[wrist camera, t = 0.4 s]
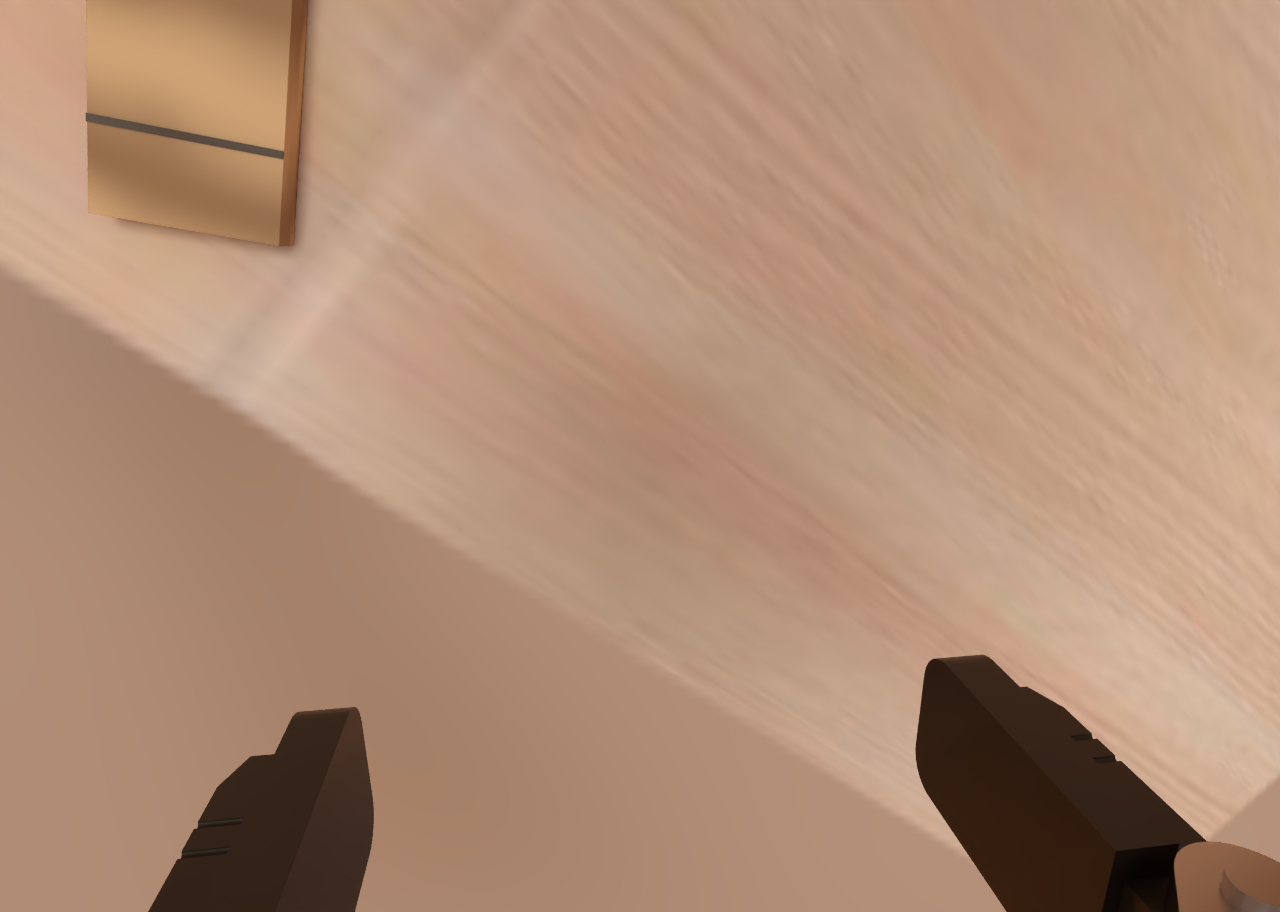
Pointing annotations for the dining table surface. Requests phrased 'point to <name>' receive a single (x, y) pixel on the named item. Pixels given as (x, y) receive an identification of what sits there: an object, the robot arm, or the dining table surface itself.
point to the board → (196, 114)
